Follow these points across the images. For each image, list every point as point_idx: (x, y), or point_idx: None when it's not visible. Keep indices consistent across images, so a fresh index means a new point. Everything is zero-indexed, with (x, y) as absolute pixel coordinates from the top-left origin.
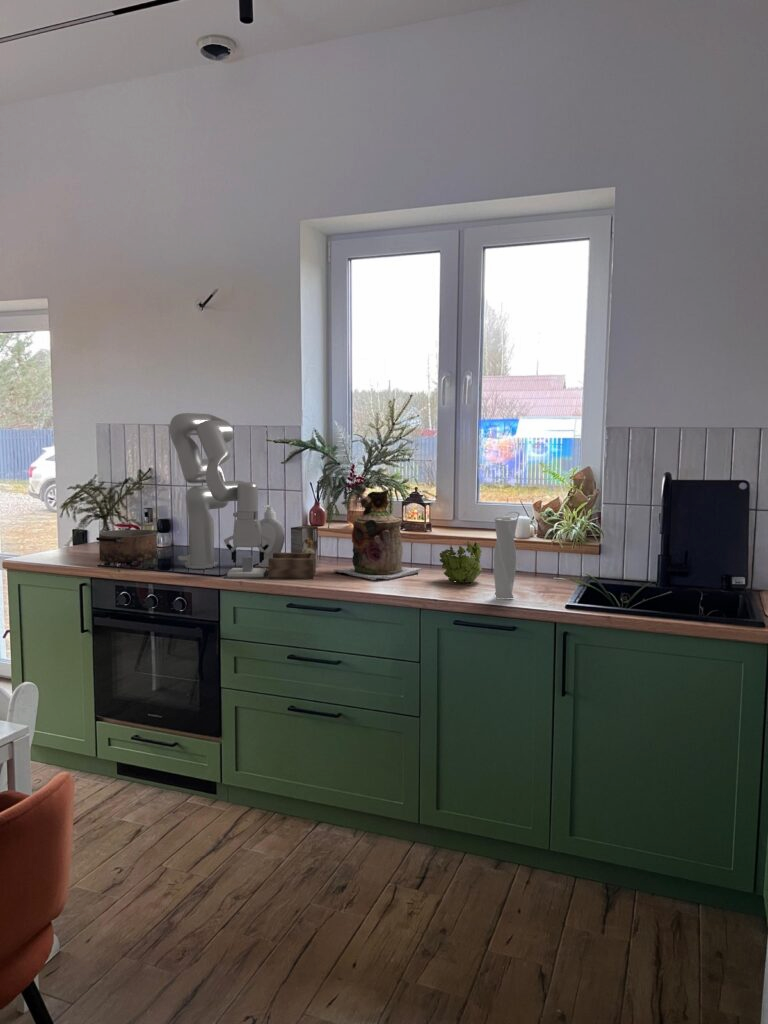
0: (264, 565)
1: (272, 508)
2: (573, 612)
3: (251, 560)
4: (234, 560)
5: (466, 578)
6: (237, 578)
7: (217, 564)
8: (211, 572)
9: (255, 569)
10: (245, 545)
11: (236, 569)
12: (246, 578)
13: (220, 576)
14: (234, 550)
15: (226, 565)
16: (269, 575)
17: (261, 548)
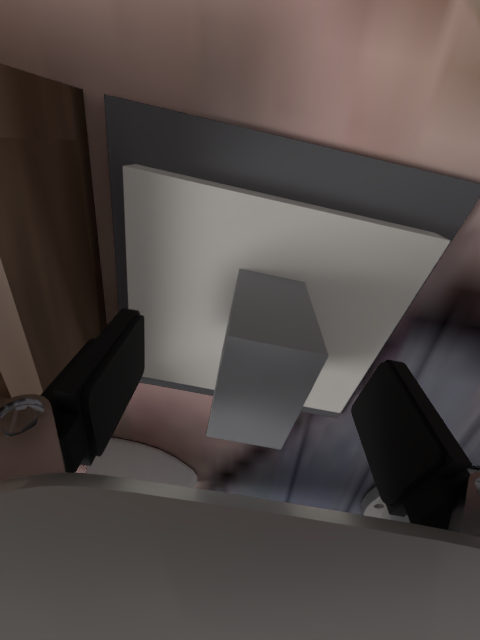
0: (168, 461)
1: None
2: None
3: (222, 356)
4: (396, 374)
5: None
6: (366, 157)
7: (373, 498)
8: (449, 404)
9: (203, 349)
10: (331, 558)
11: (329, 369)
12: (287, 138)
13: (457, 287)
14: (447, 496)
15: (325, 499)
16: (50, 80)
17: (5, 453)
